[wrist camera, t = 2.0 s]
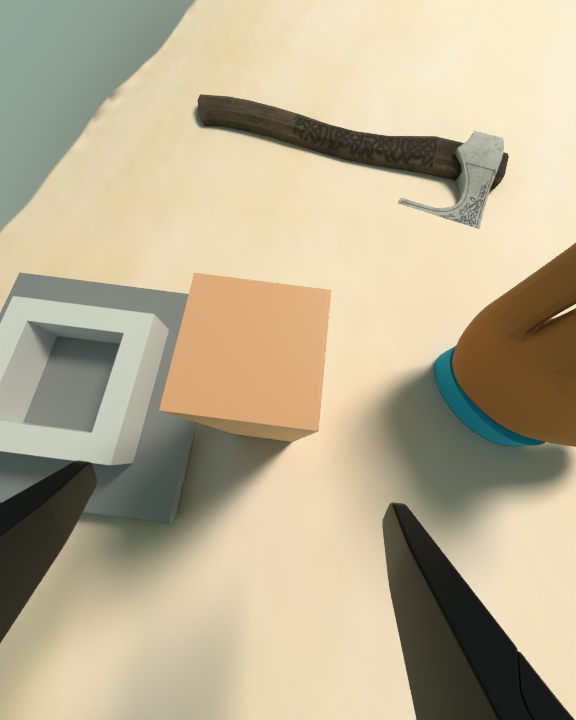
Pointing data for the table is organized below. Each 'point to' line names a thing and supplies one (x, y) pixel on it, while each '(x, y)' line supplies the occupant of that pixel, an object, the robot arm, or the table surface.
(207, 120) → the axe
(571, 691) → the table surface
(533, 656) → the table surface
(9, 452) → the housing
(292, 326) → the tan square peg
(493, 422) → the toy
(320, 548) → the table surface
